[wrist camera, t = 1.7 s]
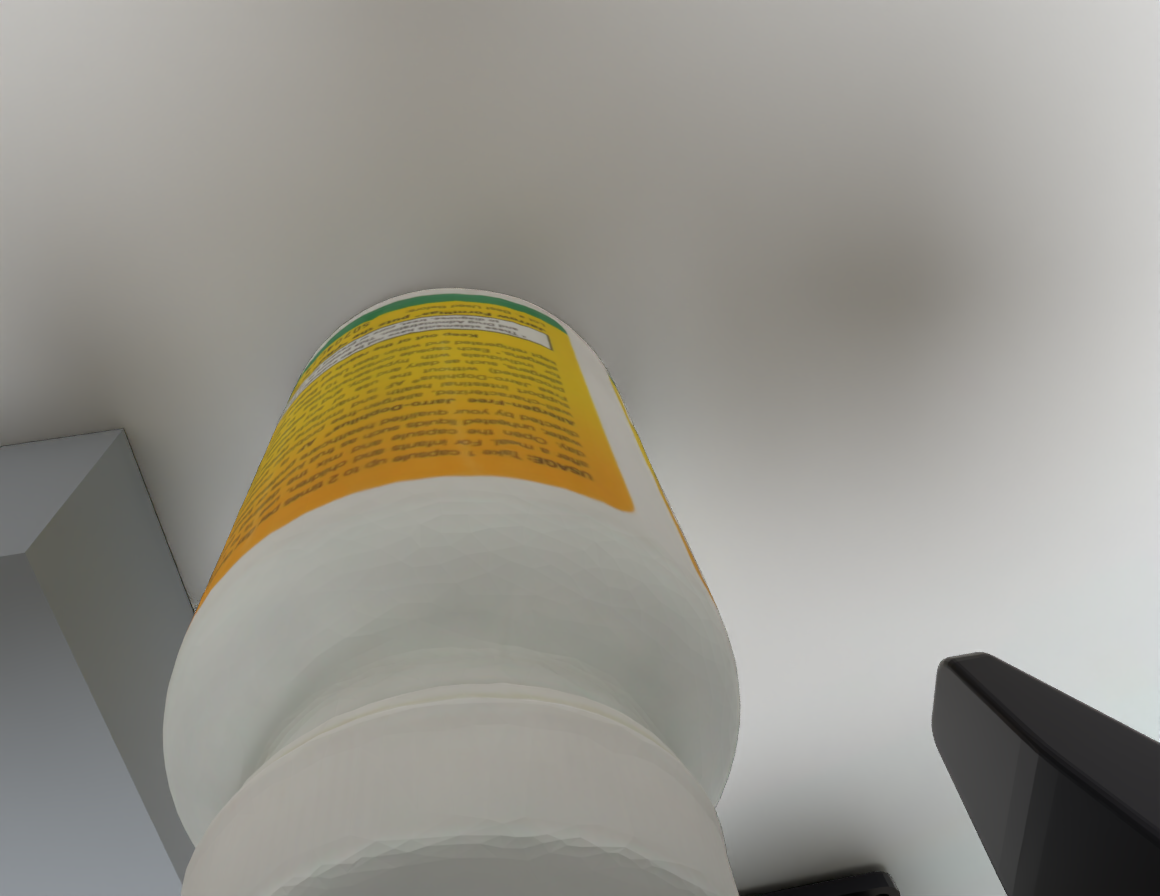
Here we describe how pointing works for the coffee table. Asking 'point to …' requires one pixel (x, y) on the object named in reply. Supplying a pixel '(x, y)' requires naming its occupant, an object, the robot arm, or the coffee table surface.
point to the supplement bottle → (454, 634)
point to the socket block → (86, 674)
